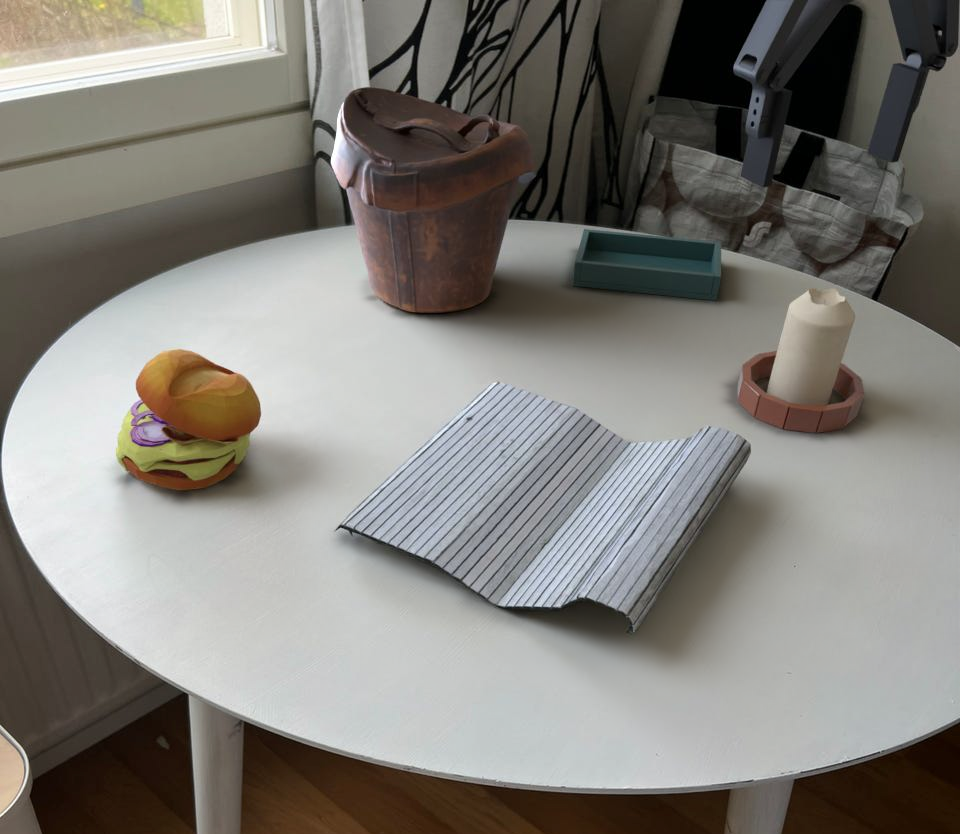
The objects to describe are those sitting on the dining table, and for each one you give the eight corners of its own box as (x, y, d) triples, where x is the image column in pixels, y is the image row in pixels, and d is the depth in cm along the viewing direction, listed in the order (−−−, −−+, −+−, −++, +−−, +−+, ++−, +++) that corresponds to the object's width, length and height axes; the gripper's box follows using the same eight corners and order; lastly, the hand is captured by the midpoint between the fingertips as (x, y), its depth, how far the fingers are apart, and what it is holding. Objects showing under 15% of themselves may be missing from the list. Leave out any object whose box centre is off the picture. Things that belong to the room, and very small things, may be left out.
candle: (754, 401, 86) (781, 294, 79) (782, 379, 89) (811, 274, 82) (810, 423, 84) (843, 315, 77) (837, 399, 87) (871, 293, 80)
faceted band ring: (850, 378, 90) (857, 357, 88) (861, 438, 82) (869, 416, 81) (736, 366, 91) (741, 344, 89) (737, 424, 83) (743, 401, 82)
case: (548, 319, 97) (563, 127, 84) (352, 335, 93) (338, 137, 81) (504, 249, 109) (512, 72, 97) (330, 261, 106) (315, 79, 93)
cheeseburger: (122, 431, 80) (125, 319, 73) (252, 449, 83) (265, 343, 77) (109, 500, 72) (111, 383, 66) (251, 517, 76) (267, 406, 69)
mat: (487, 405, 84) (489, 356, 81) (741, 488, 77) (755, 437, 73) (332, 544, 70) (327, 492, 67) (627, 664, 62) (637, 611, 59)
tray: (716, 265, 108) (721, 241, 106) (716, 300, 101) (721, 276, 99) (581, 251, 109) (583, 228, 107) (572, 285, 103) (574, 262, 101)
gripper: (996, -188, 68) (897, 134, 83) (722, -185, 59) (667, 176, 74) (1088, -179, 63) (966, 161, 78) (806, -174, 54) (729, 209, 69)
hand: (820, 169), depth 76 cm, fingers open, 13 cm apart
